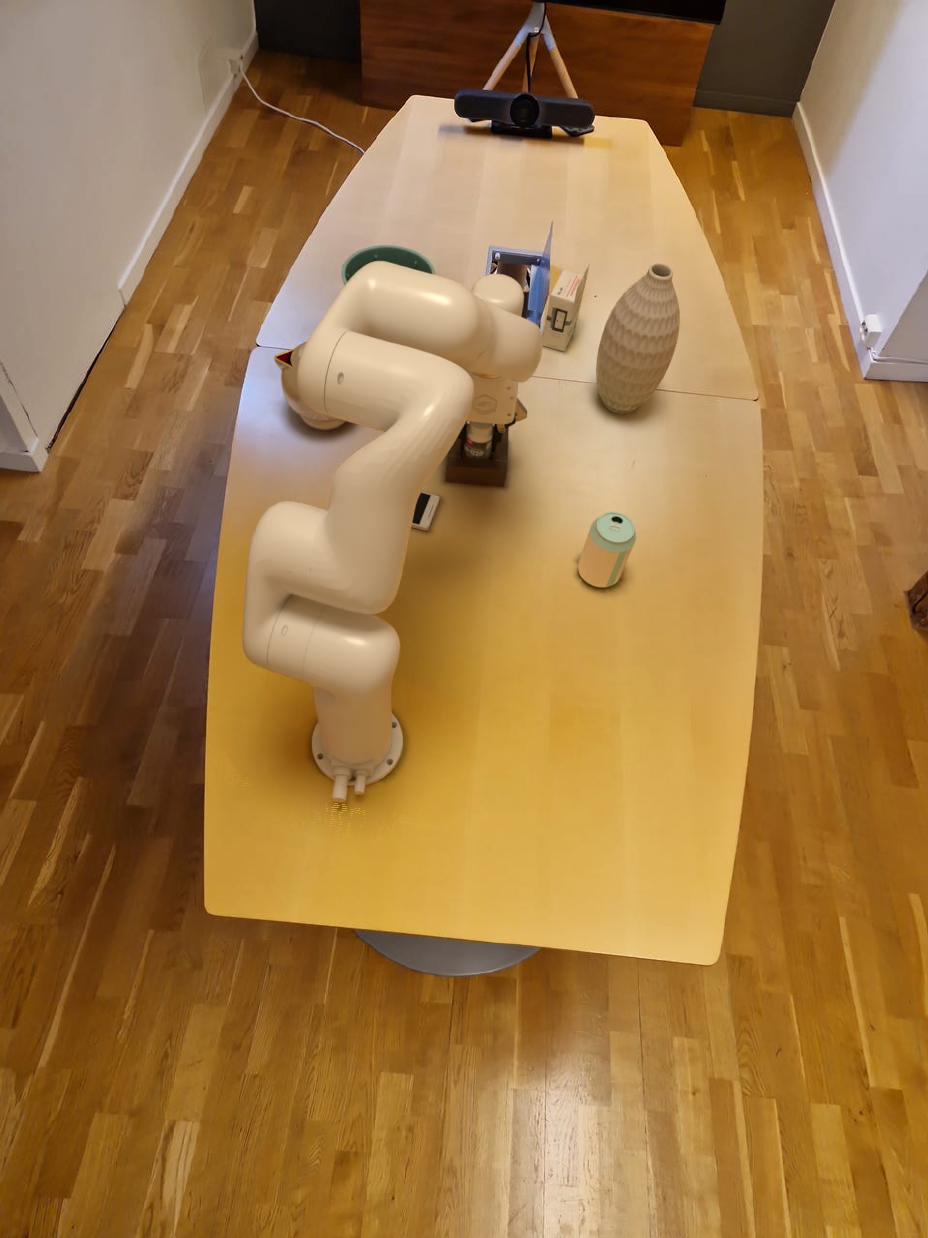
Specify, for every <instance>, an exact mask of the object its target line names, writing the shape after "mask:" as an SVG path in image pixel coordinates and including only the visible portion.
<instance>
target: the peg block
mask: <svg viewBox="0 0 928 1238" xmlns="http://www.w3.org/2000/svg"><path fill="white" fill-rule="evenodd" d="M468 425H469V422H467V426H468ZM466 428H467V427H466ZM493 429H494V425H493ZM509 431H510V427H508V428H506V429H505V432H503V434H502V441H501V442H497V448H496V449H493V448H492V449H491V452H492V453H493V454H492V459H489V460H482V459H471V458H464V457H461V455H462V454H461V453H462V449H464V446H460V444H461V439H458V438H457V439H456V440H455V442H454V444H453V445H452V447H451V448H450V450H449V452H448V453H447V454H446V466H445V467H446V468H445V479H444V482H446V483H457V484H466V485H477V486H478V485H479V486H488V487H498V488H499V487H500V488H505V485H506V480H507V474H508V457H509V456H508V455H509Z"/></svg>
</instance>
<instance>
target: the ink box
mask: <svg viewBox="0 0 928 1238" xmlns="http://www.w3.org/2000/svg"><path fill="white" fill-rule="evenodd" d="M589 267H590V262H588V263H587V265H586V268H585V270H584V272H583V274H581V273H578V272H574V271H571V270H568V269H564V268H563V269H562V271H561V273H560V275H559V277H558V279H557V280H556V283H555V285H554V287H553V289H552V290H551V293H550V295H549V296H550V297H549V302H548V309H547V313H546V318H545V324H544V330H543V334H542V340H543V347H546V348H549V349H553V350H557V351H560V352H565V351H566V349H567V348H568V344H569V343H570V340H571V339H572V336H573V334H574V332H575V330H576V326H577V323H578V322H577V321H578V318H579V313H580V309H581V305H582V300H583V296H584V292H585V288H586V283H587V279H588V274H589Z"/></svg>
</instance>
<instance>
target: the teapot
mask: <svg viewBox="0 0 928 1238" xmlns="http://www.w3.org/2000/svg"><path fill="white" fill-rule="evenodd" d="M306 343H307V341H304V342H302V343H300V344H298V345H297V346H295V347H293V348H291V349H288V350H286V351H283V352H280V353H277V354H275V355H274V357H273V359H274V362H275V364H276V366H277V367H278V368H279V369H280V370H281V372H280V373H281V374H280V384H281V390H282V393H283V396H284V398H285V400H286V402H287V403H288V405H289V406H290V408H292V410H293V411H294V412H295V413H297V414H298V415H299V416H300V419H301V420H302V422H303V423H305V425H307V426H308V427H309V428H312V429H314V430H318V431H331V430H335V429H337V428H340V427H341V426H343V425H344V424H345V423H346V422H347V421H345V420H341V419H338V418H335V417H330V416H328V415H325V414H322V413H320V412H317V411H315V410H313V409H312V408H311V407H309V406H308V405H307V404H306V403H305V402H304V400H303V399H302V397H301V395H300V393H299V389H298V385H297V371H298V365H299V361H300V358H301V355H302V352H303V349H304V347H305V345H306Z"/></svg>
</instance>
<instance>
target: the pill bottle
mask: <svg viewBox="0 0 928 1238" xmlns="http://www.w3.org/2000/svg"><path fill="white" fill-rule="evenodd" d="M468 424H469V425H468V426H467V428H466V438H465V446H464V448H463V453H462V455H463V458H471V459H482V460H491V455H492V451H491V449H492V443H493V436H494V429H493V426H494V424H492V423H481V422H471V421H468Z"/></svg>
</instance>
